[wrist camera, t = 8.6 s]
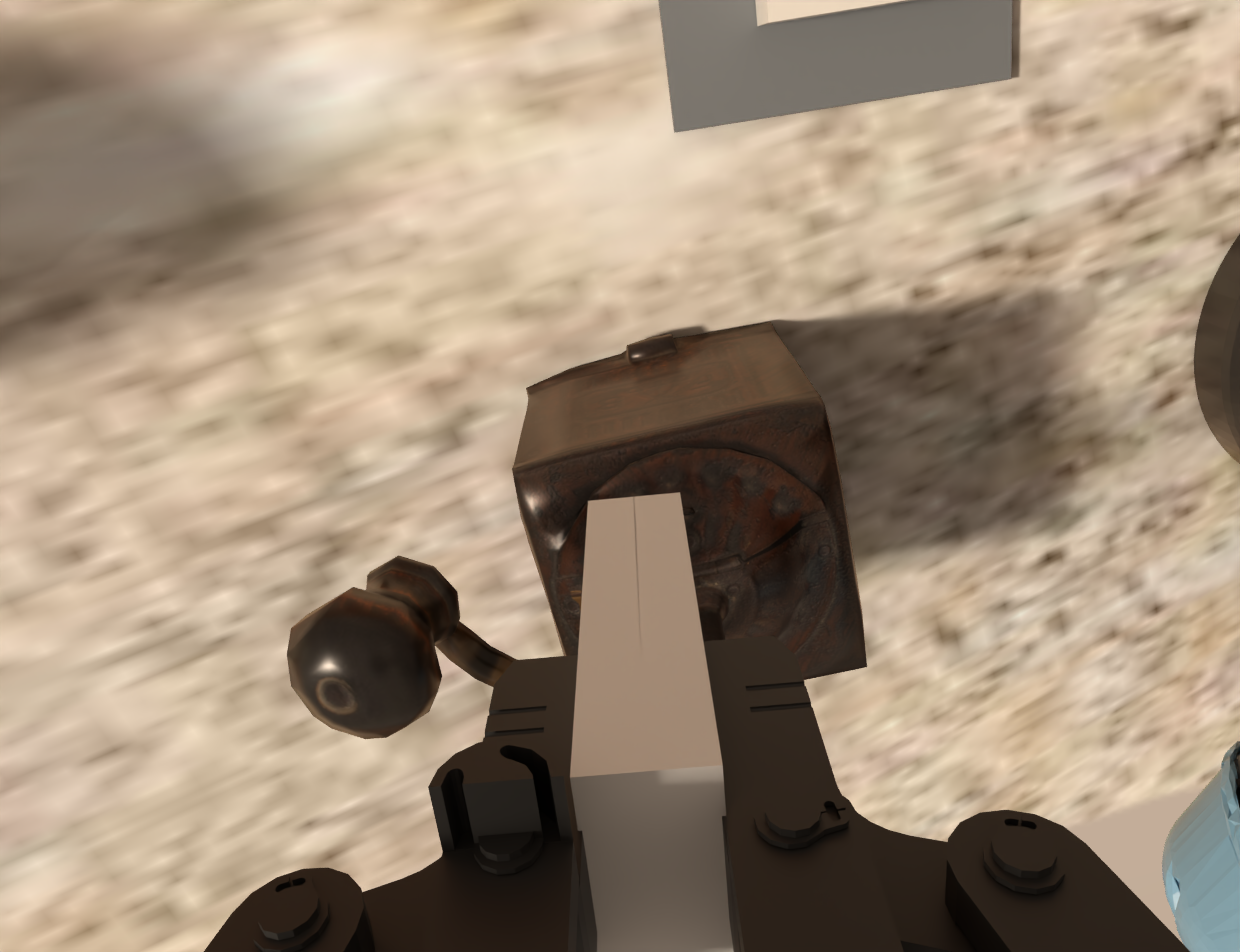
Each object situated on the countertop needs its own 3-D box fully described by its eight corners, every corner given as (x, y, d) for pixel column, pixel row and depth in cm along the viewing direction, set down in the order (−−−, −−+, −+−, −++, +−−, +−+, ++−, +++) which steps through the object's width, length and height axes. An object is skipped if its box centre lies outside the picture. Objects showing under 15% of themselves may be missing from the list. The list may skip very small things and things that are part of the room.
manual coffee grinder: (776, 300, 37) (920, 488, 20) (822, 545, 41) (971, 867, 24) (398, 395, 38) (237, 644, 21) (480, 622, 42) (400, 978, 26)
